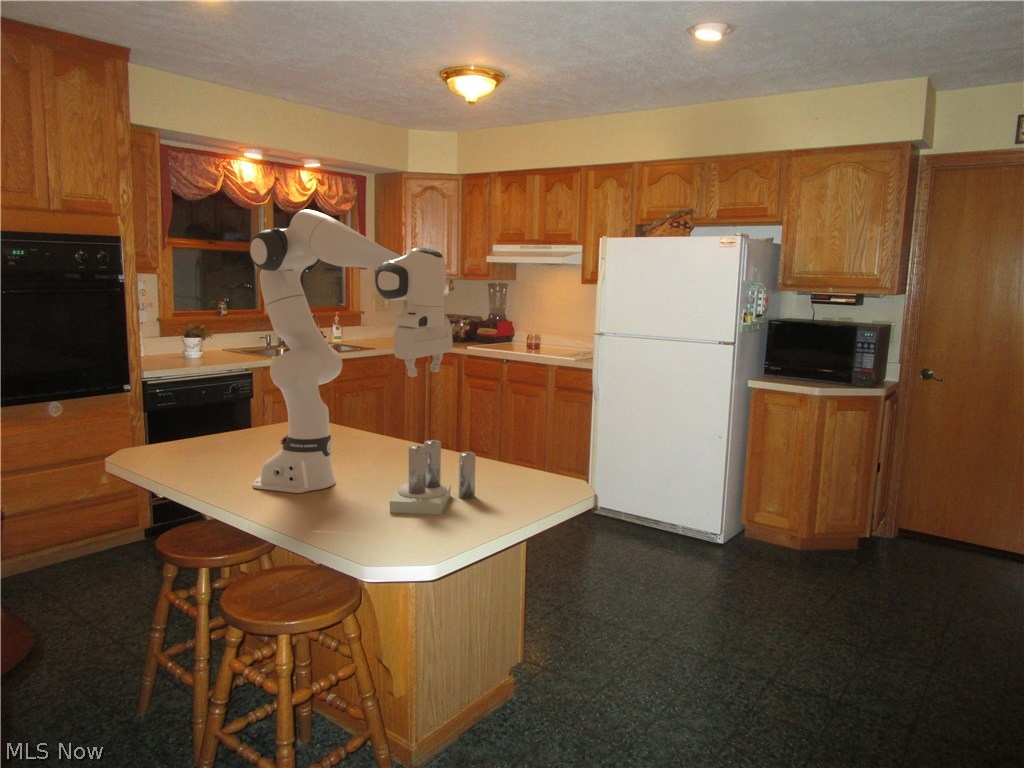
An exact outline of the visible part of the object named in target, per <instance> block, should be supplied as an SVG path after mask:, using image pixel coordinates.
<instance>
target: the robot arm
mask: <svg viewBox="0 0 1024 768" xmlns="http://www.w3.org/2000/svg"><path fill="white" fill-rule="evenodd" d="M248 252H249V257H250V259H251V262H252V263H253V264H254V265H255V267H257V268H258V269H260V273H259V283H260V289H261V294H262V298H263V299H262V300H263V302H264V306H265V308H266V312H267V314H268V318H269V321H270V323H271V326H272V330H273V332H274V334H275V335H276V336H277V337H278V338H280V339H281V340H283V342H284V343H285V344H286V345H287V347H288V348H289V350H287V351H285V352H283V353H281V354H279V355H278V356H276V357H275V358H274V359H273V360H272V361H271V363H270V366H269V376H270V378H271V380H272V382H273V384H274V385H275V386H276V387H277V388H279V390H280V391H281V393H282V396H283V399H284V401H285V405H286V408H287V421H288V422H287V423H288V424H287V425H288V433H287V434H285V436H284V437H283V438H282V439H281V440H280V443H279V444H280V445H282V448H281V449H280V450H279V451H277V452H276V453H275V454H273V455H272V456H270V457H269V459H267V460H266V461H265V462H264V463H263V465H262V467H261V468H262V469H261V474H260V476H259V477H257V478H256V479H255V480H253V483H252V487H253V489H256V490H257V489H258V490H264V491H266V490H267V491H274V492H275V491H277V492H284V493H293V494H302V493H306V492H307V493H308V492H310V491H317V490H323V489H326V488H327V489H328V488H329V487H332V486H334V485H335V484H336V483H337V482H336V479H335V475H334V471H333V466H332V465H333V464H332V461H331V454H332V439H331V438H332V437H331V434H330V416H329V415H330V413H329V412H330V411H329V407H328V405H327V404H326V403H325V402H324V401H323V399H322V397H321V394H320V389H319V386H321V385H324V384H328V383H329V382H331V381H333V380H334V379H335V378H337V377H338V376H339V375H340V374H341V372H342V369H343V360H342V356H341V355H340V353H339V352H338V351H337V350H336V349H334V348H332V347H331V345H330V344H329V343H328V342H327V340H326V339H325V337H324V335H323V334H322V332H321V331H320V330H319V328H318V326H317V323H316V322H315V320H314V317H313V313H312V312H311V308H310V306H309V303H308V300H307V296H306V294H305V291H304V288H303V286H302V283H301V275H302V273H303V272H304V273H306V274H309V273H311V272H312V271H313V270H314V268H316V267H317V266H319V265H320V264H321V263H327V264H330V265H333V266H336V267H345V268H347V267H348V268H362V269H364V268H365V269H369V270H370V269H372V270H375V276H374V283H375V288H376V290H377V292H378V293H379V295H380V296H381V298H384V299H386V300H390V301H407V308H405V310H403V311H402V312H400V313H398V314H396V316H394V318H393V324H394V326H395V329H394V332H393V354H394V355H393V356H395V358H396V359H400V360H404V364H405V366H406V368H407V376H408V377H410V378H414V377H417V376H418V368H416V366H415V363H416V359H418V358H423V357H431V356H432V357H433V359H432V363H431V364H430V365H429V371H430V372H433V373H436V372H437V373H438V372H439V371H440V364H441V362H442V360H443V356H444V354H446V353H451V351H452V349H453V328H452V325H451V322H450V321H451V319H449V318H448V316H447V315H445V309H446V307H445V306H446V305H445V304H446V303H445V300H444V297H445V296H444V294H445V290H446V284H447V283H446V281H447V273H446V271H447V270H446V269H447V268H446V261H445V257H444V255H443V254H442V253H441V252H439V251H438V250H435V249H431V248H427V247H426V248H425V247H414V248H412V249H411V250H410V252H408V253H407V254H405V255H402V254H400V253H398V252H396V251H394V250H392V249H390V248H387V247H385V246H384V245H381V244H380V243H377V242H376V241H374V240H372V239H370V238H368V237H367V236H365V235H363V234H361V233H359V232H358V231H356V230H355V229H353V228H351V227H349V226H348V225H346V224H345V223H343V222H341V221H339V220H337V219H335V218H334V217H332V216H329V215H327V214H326V213H323V212H319V211H317V210H312V209H302V210H300V211H298V212H296V213H295V214H294V215H293V217H292V219H291V221H290V223H289V226H288V227H285V228H279V227H275V228H270V229H269V228H268V229H264V230H261V231H259V232H257V233H255V234H254V235H253V236H252V238H250V242H249V246H248Z"/></svg>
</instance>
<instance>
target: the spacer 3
mask: <svg viewBox="0 0 1024 768" xmlns="http://www.w3.org/2000/svg"><path fill="white" fill-rule="evenodd" d="M458 454H459V455H458V456H459V457H458V461H459V463H458V498H460V499H462V500H472V499H475V498H476V458H477V457H476V456H477V455H476V453H475V452H472V451H462V452H460V453H458Z"/></svg>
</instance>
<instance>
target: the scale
mask: <svg viewBox="0 0 1024 768" xmlns="http://www.w3.org/2000/svg"><path fill="white" fill-rule="evenodd" d="M451 487H452V485H449V484H442V483H441V486H440V487H437V488H427V487H426V492H425V493H424V494H418V495H415V494H410V493H409V482H407V483H403V484H402V485H400V486H399V487H398V488H397V491H396V493H395V494H394V495H393V496H392V498H391V499H390V500H389V513H392V514H410V515H411V514H412V515H413V514H414V515H432V516H433V515H435V516H441V515H442V513H443V511H444V510H445V508H446V505H447V504H448V502H449V500H450V498H451V492H452V491H451Z"/></svg>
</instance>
